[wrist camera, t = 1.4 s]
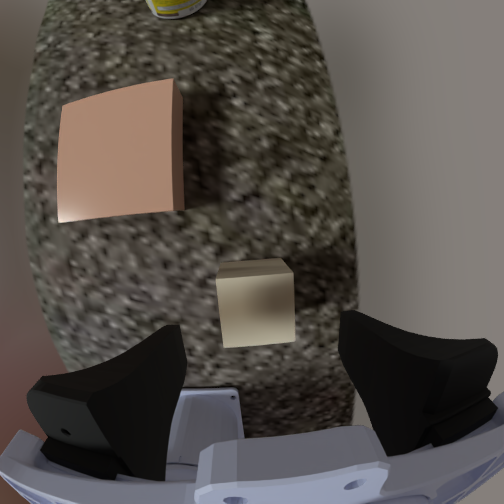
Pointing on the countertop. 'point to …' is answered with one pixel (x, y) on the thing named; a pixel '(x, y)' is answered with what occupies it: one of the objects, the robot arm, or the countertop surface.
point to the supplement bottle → (174, 7)
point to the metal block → (256, 302)
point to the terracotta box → (121, 153)
